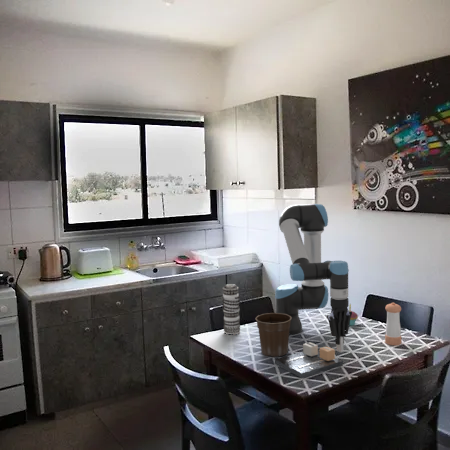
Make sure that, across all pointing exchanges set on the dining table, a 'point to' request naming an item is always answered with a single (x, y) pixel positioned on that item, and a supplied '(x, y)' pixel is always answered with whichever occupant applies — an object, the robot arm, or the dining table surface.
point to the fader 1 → (310, 349)
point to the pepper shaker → (393, 325)
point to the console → (306, 364)
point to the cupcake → (352, 317)
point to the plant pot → (274, 333)
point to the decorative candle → (231, 309)
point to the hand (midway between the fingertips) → (339, 351)
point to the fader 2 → (327, 353)
